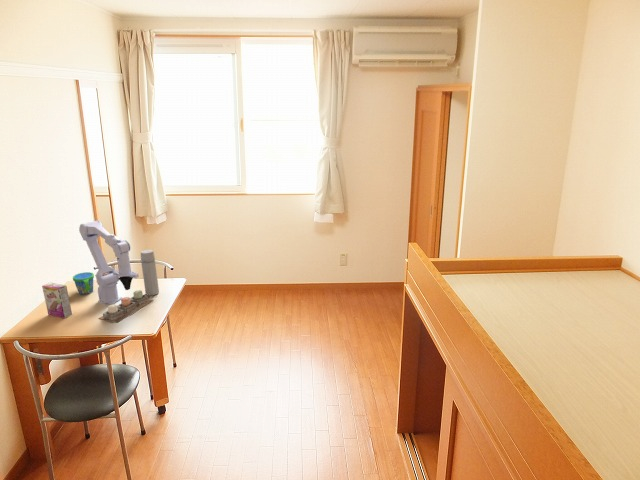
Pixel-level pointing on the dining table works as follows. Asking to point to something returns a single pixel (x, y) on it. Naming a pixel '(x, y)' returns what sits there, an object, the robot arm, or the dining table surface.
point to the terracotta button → (125, 302)
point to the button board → (126, 309)
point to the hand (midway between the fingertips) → (127, 289)
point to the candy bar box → (57, 300)
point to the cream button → (112, 309)
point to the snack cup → (84, 282)
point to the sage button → (138, 295)
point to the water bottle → (149, 272)
